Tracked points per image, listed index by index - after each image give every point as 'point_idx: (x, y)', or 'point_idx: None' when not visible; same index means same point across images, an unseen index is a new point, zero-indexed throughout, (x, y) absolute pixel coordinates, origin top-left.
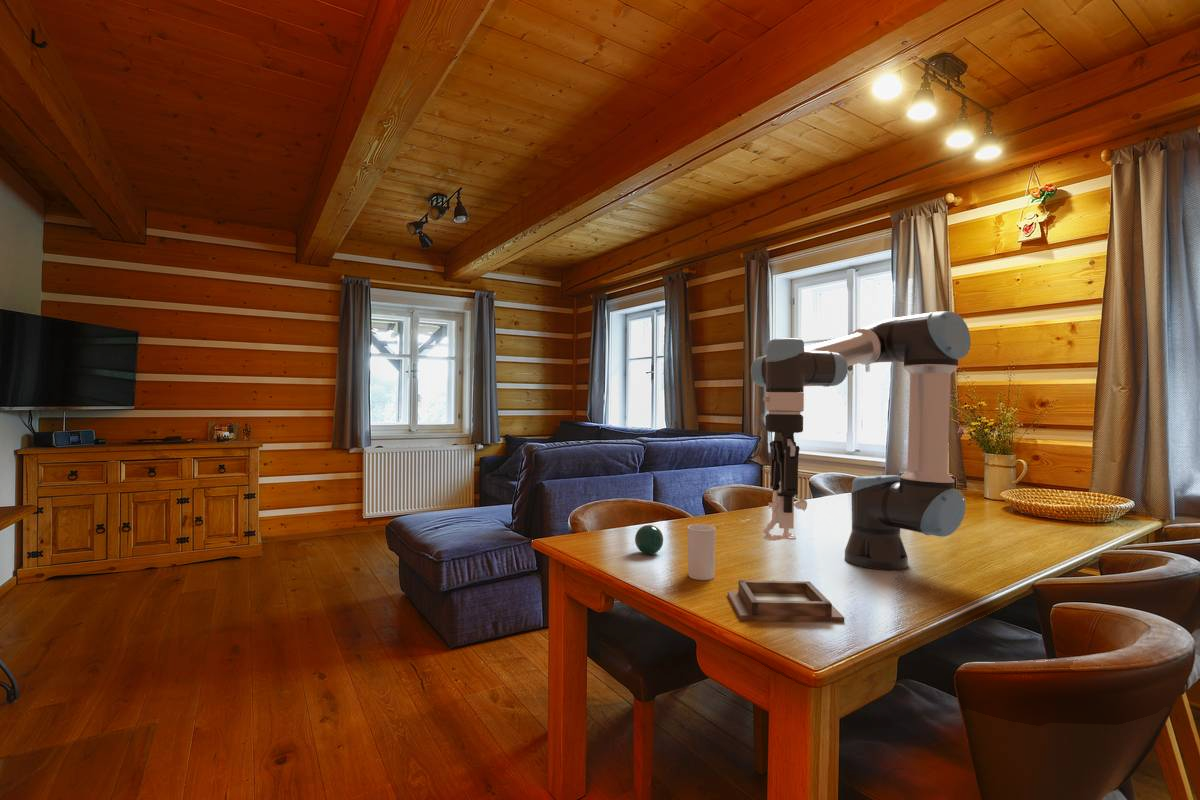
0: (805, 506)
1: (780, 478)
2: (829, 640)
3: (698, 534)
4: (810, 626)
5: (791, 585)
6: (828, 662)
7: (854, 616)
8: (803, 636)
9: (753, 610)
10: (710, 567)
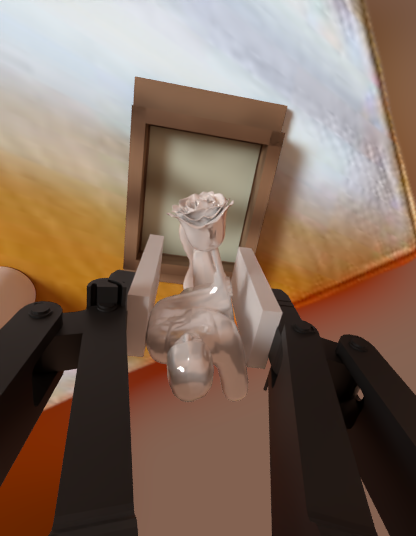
0: (230, 206)
1: (271, 449)
2: (344, 181)
3: None
4: (286, 185)
5: (143, 159)
6: (405, 221)
7: (258, 59)
8: (319, 216)
9: None
10: (18, 291)
